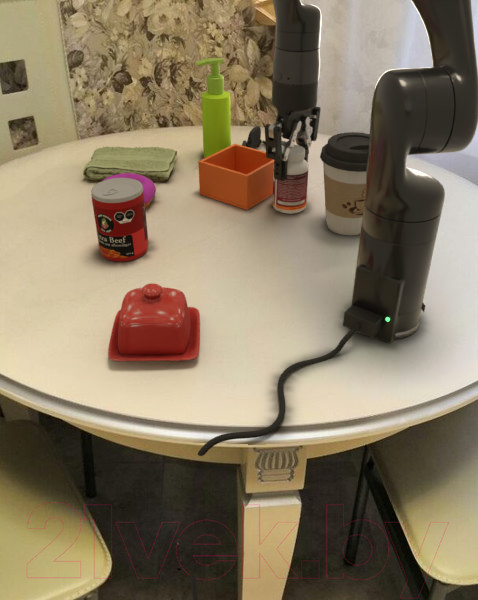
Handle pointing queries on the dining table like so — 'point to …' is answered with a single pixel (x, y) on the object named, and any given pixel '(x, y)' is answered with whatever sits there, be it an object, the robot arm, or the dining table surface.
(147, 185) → the donut
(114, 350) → the butter dish
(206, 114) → the soap dispenser
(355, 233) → the coffee cup
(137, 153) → the washcloth
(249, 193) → the bin
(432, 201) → the robot arm
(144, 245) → the canned food
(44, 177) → the dining table surface
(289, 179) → the pill bottle
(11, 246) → the dining table surface
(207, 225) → the dining table surface
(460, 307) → the dining table surface
